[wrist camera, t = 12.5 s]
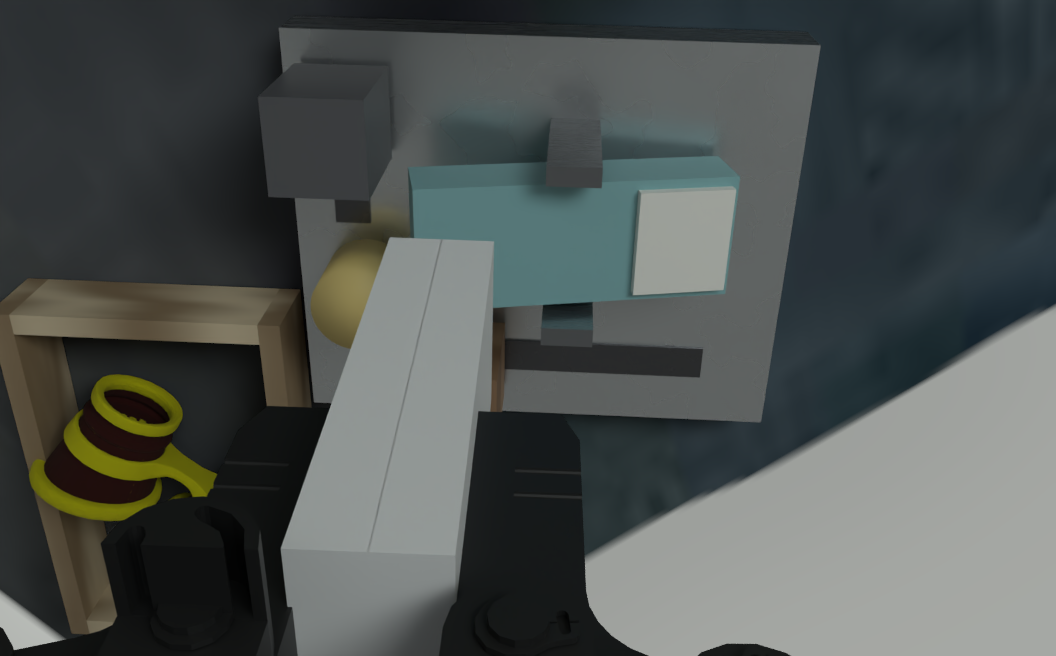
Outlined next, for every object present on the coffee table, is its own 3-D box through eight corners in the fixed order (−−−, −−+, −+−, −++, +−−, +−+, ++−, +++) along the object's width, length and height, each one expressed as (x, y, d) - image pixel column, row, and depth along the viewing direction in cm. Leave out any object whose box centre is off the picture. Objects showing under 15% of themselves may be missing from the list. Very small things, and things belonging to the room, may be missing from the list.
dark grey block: (302, 154, 33) (268, 196, 29) (293, 63, 31) (257, 96, 28) (392, 157, 33) (369, 200, 29) (387, 66, 31) (363, 100, 28)
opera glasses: (320, 478, 43) (304, 540, 38) (248, 561, 44) (223, 632, 39) (125, 346, 40) (83, 394, 36) (54, 438, 41) (3, 497, 37)
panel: (326, 375, 40) (280, 478, 34) (294, 15, 33) (231, 63, 27) (752, 394, 39) (783, 501, 33) (807, 32, 33) (858, 84, 27)
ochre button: (330, 314, 36) (314, 348, 34) (324, 237, 34) (306, 267, 32) (413, 317, 36) (402, 351, 33) (410, 240, 34) (399, 271, 32)
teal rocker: (412, 284, 32) (417, 316, 30) (407, 167, 30) (413, 193, 28) (705, 268, 34) (728, 298, 32) (718, 155, 32) (743, 180, 30)
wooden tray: (101, 585, 46) (71, 633, 43) (28, 278, 38) (-13, 314, 36) (329, 596, 45) (314, 646, 43) (300, 289, 38) (279, 326, 35)
